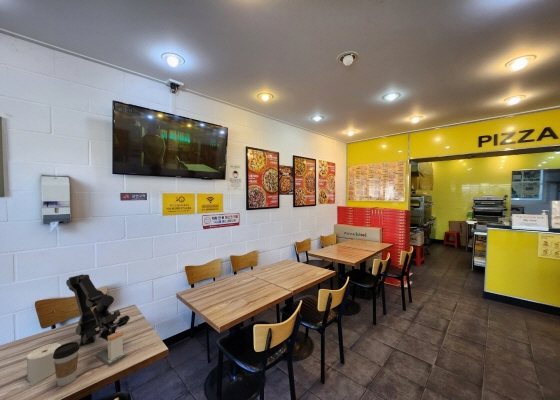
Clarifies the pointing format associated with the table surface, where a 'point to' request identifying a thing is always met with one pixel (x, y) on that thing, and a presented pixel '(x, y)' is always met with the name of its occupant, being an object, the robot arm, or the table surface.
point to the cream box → (115, 345)
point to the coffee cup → (66, 362)
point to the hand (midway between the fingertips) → (113, 343)
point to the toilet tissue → (41, 363)
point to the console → (104, 357)
